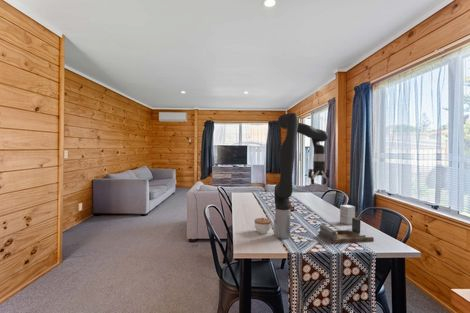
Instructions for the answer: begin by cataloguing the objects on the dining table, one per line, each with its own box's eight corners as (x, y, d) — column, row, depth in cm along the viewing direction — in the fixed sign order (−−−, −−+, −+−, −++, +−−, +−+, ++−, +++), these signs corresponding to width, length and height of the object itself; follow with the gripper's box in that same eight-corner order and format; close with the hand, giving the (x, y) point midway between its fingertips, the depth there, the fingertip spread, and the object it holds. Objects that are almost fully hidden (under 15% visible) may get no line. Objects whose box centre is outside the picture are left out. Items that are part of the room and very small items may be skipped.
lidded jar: (274, 232, 152) (274, 218, 152) (263, 236, 145) (263, 221, 145) (262, 228, 160) (262, 214, 160) (250, 231, 153) (251, 217, 153)
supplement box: (347, 221, 179) (347, 204, 179) (355, 223, 172) (355, 206, 172) (339, 221, 177) (339, 205, 176) (347, 224, 170) (347, 207, 169)
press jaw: (359, 240, 136) (359, 221, 135) (347, 233, 146) (347, 216, 146) (365, 240, 136) (365, 221, 136) (352, 233, 147) (353, 215, 147)
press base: (331, 245, 131) (332, 232, 131) (318, 236, 145) (319, 224, 145) (373, 243, 135) (373, 230, 135) (357, 234, 149) (357, 223, 149)
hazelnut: (332, 239, 137) (332, 233, 137) (328, 237, 141) (328, 231, 141) (338, 239, 137) (338, 233, 137) (335, 236, 141) (335, 231, 141)
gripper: (312, 160, 156) (311, 185, 156) (331, 160, 158) (331, 184, 159) (306, 160, 163) (306, 183, 164) (325, 160, 166) (325, 183, 166)
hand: (318, 184), depth 161 cm, fingers open, 8 cm apart
